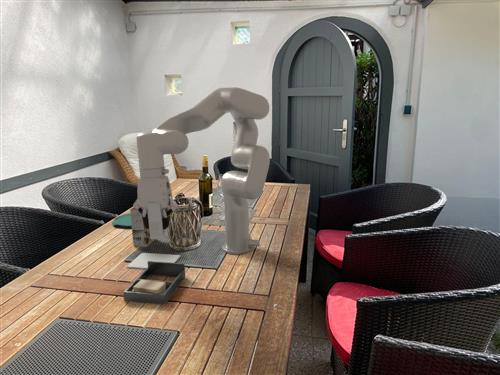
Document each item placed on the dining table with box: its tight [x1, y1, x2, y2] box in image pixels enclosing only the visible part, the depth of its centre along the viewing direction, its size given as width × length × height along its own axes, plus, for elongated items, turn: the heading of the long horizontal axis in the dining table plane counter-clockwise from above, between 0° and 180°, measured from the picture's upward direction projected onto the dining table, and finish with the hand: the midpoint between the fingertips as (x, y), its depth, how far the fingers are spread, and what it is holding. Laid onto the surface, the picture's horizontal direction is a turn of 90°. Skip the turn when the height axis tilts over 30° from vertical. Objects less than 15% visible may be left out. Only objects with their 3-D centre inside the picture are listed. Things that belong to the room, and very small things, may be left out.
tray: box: [122, 261, 186, 306], centre depth 118 cm, size 13×17×5 cm
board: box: [126, 252, 181, 270], centre depth 137 cm, size 16×12×1 cm
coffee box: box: [129, 207, 157, 248], centre depth 154 cm, size 9×6×16 cm
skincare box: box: [147, 203, 167, 240], centre depth 118 cm, size 6×4×12 cm
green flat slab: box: [111, 212, 132, 228], centre depth 181 cm, size 20×30×2 cm, turn 82°
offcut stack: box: [132, 279, 166, 294], centre depth 114 cm, size 10×5×4 cm, turn 75°
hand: (157, 227), depth 118 cm, fingers closed on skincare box, 5 cm apart
